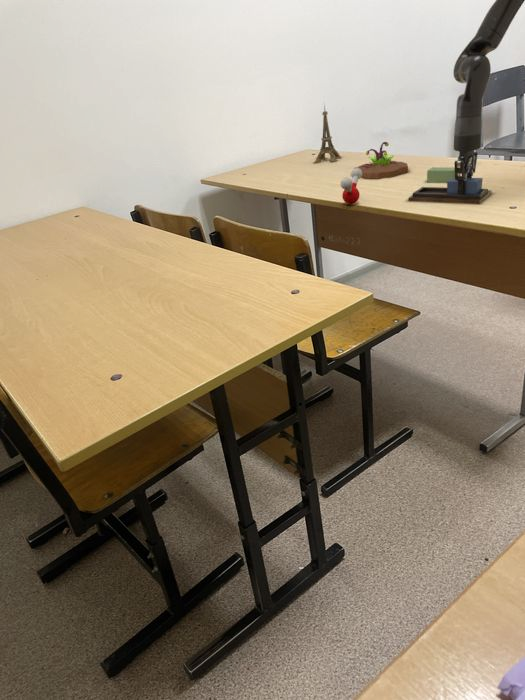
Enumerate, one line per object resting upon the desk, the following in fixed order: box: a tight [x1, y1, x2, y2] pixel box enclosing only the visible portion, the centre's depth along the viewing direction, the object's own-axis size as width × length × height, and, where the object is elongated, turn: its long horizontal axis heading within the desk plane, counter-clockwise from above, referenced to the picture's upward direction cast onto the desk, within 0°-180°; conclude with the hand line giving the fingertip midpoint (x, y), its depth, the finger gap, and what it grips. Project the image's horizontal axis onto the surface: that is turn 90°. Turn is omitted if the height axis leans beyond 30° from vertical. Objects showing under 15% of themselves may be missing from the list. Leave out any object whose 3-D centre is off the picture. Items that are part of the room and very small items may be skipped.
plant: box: [353, 141, 409, 180], centre depth 207 cm, size 20×20×11 cm
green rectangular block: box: [426, 166, 455, 183], centre depth 185 cm, size 9×5×4 cm, turn 54°
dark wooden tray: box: [408, 186, 493, 205], centre depth 166 cm, size 22×12×2 cm, turn 54°
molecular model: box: [340, 167, 363, 205], centre depth 172 cm, size 18×6×10 cm, turn 165°
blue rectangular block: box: [446, 177, 483, 195], centre depth 162 cm, size 9×5×4 cm, turn 54°
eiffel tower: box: [313, 103, 343, 164], centre depth 240 cm, size 11×11×25 cm
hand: (464, 190), depth 163 cm, fingers closed on blue rectangular block, 5 cm apart
